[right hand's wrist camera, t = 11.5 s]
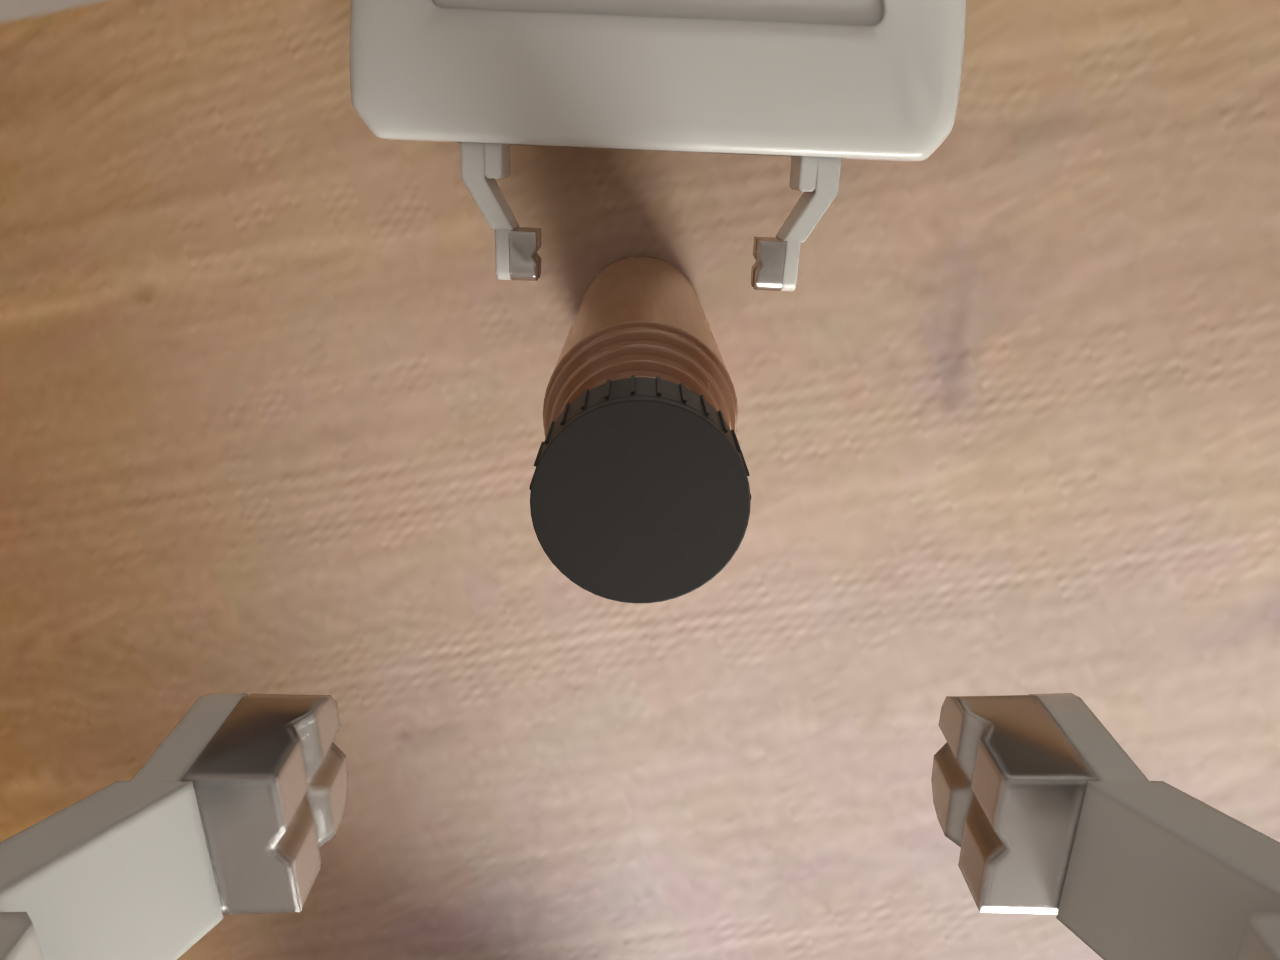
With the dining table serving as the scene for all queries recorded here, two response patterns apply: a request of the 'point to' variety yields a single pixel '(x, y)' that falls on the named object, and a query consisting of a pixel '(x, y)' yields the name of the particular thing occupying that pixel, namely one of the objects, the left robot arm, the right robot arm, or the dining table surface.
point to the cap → (640, 491)
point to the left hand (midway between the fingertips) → (645, 283)
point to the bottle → (640, 338)
